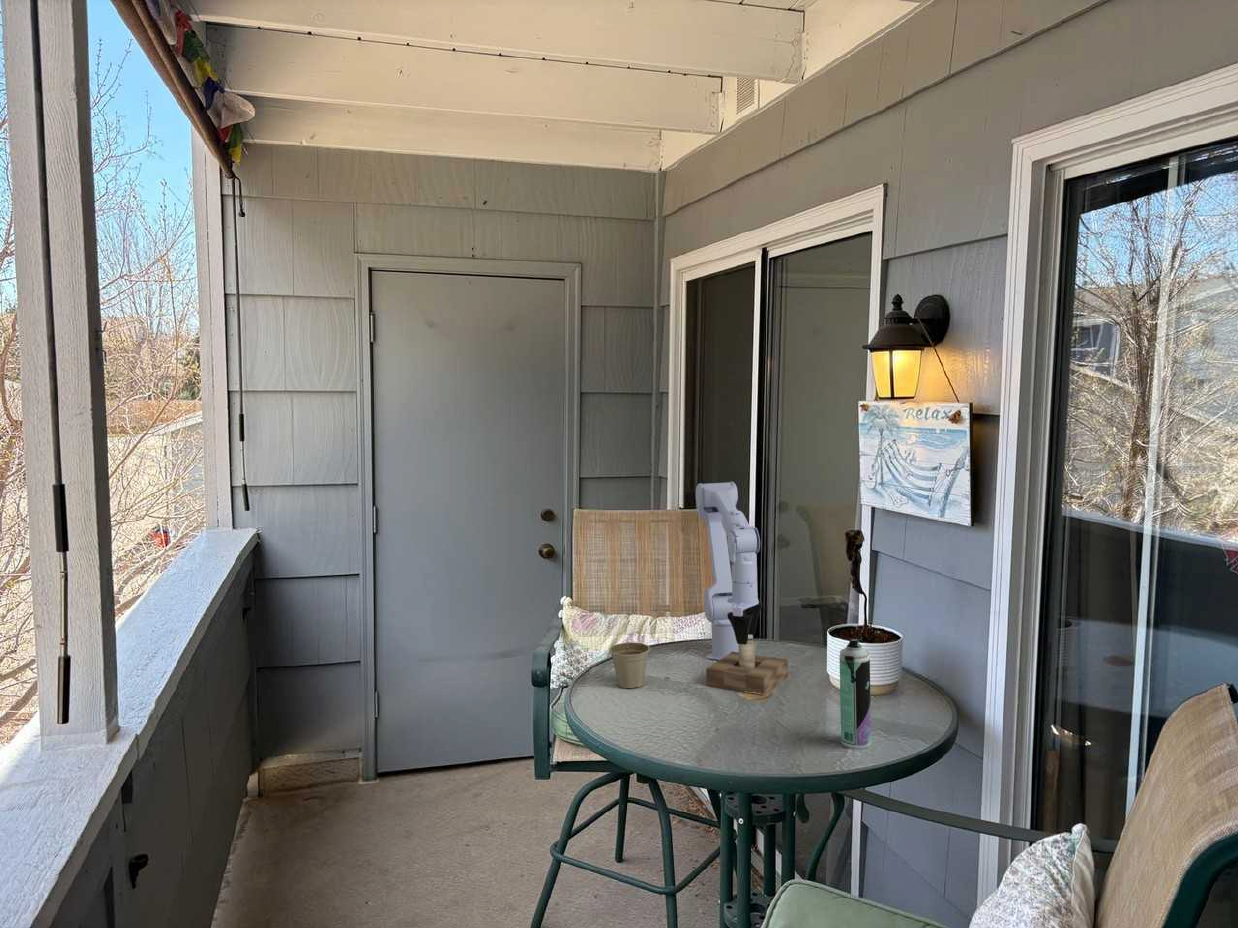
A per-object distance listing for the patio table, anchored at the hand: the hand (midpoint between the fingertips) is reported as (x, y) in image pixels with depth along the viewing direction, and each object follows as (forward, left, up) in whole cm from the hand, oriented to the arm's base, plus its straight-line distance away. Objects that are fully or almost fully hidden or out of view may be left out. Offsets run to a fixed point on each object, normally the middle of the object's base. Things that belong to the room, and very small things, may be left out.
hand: (746, 638), depth 194 cm
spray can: (+22, +32, -10) cm, 40 cm away
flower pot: (+14, -23, -10) cm, 29 cm away
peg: (0, 0, -9) cm, 9 cm away
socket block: (0, 0, -10) cm, 10 cm away
